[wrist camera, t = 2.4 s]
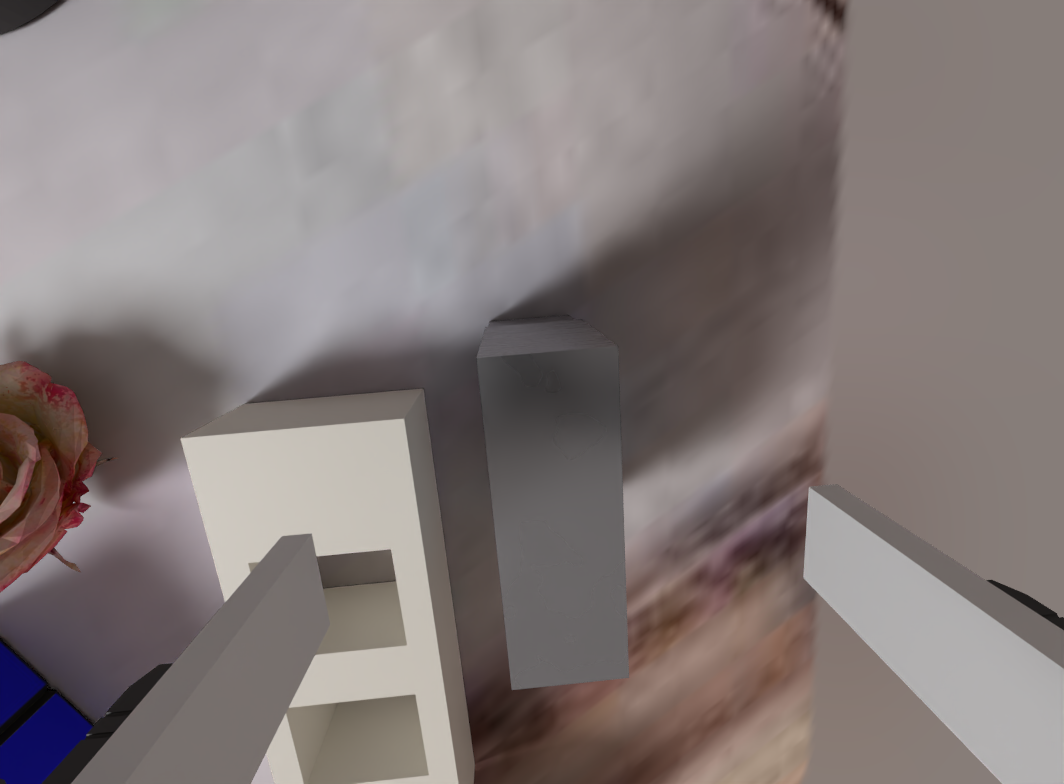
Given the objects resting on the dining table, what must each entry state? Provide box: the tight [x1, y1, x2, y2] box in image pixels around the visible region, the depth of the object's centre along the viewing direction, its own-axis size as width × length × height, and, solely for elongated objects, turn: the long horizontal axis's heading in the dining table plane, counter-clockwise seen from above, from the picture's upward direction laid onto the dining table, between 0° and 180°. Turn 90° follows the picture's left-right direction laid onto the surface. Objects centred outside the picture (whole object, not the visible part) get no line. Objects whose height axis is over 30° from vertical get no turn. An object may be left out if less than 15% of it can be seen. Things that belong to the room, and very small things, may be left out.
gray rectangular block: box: [476, 315, 629, 690], centre depth 18 cm, size 10×4×10 cm, turn 4°
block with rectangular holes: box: [180, 388, 475, 784], centre depth 23 cm, size 22×8×4 cm, turn 4°
